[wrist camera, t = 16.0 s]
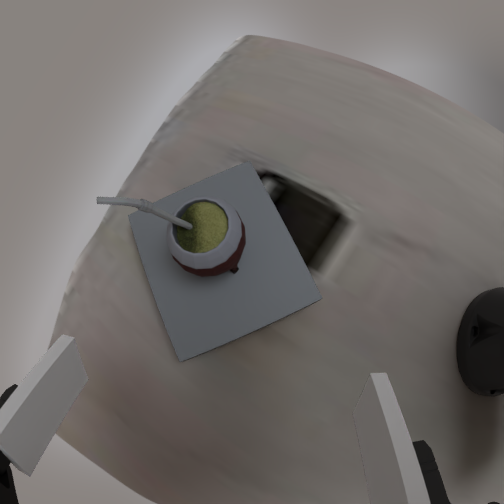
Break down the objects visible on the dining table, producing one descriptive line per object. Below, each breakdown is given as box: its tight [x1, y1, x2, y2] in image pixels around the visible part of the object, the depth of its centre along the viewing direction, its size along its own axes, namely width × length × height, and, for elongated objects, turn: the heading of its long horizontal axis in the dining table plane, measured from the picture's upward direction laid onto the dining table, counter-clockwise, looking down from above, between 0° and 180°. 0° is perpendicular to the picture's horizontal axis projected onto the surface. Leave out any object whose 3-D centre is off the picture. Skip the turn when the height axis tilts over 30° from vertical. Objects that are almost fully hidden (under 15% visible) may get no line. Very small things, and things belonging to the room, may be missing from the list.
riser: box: [128, 161, 322, 362], centre depth 33 cm, size 18×16×4 cm
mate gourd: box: [97, 196, 246, 277], centre depth 25 cm, size 8×8×15 cm
